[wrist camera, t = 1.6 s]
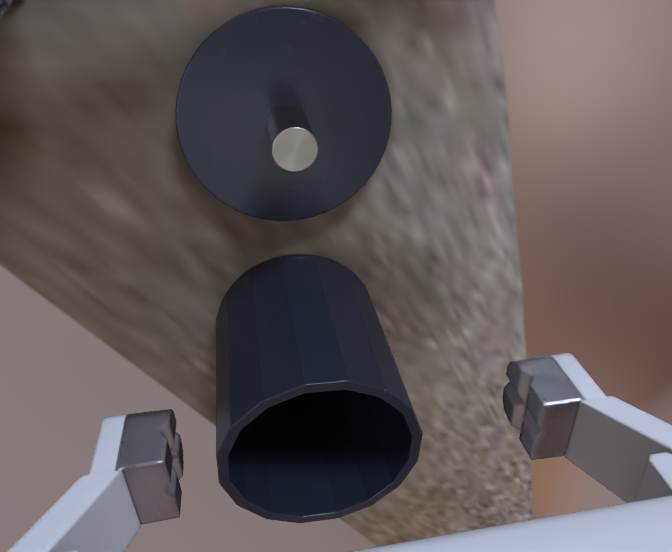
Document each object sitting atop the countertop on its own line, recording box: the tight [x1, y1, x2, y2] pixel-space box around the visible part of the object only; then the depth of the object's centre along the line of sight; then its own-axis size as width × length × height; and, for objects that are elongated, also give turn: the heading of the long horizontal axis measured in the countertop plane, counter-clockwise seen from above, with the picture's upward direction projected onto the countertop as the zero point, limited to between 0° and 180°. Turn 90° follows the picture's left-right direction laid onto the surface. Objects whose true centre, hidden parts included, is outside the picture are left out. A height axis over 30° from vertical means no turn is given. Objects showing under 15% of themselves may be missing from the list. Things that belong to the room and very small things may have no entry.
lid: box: [176, 6, 392, 221], centre depth 31 cm, size 12×12×5 cm
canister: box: [216, 255, 422, 523], centre depth 36 cm, size 11×11×12 cm
